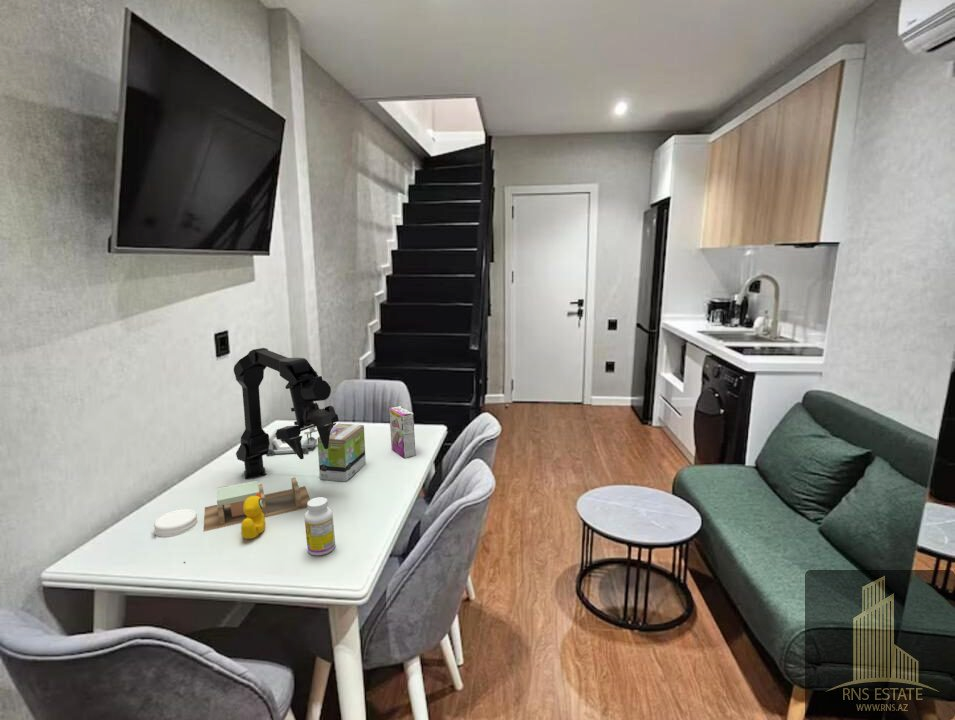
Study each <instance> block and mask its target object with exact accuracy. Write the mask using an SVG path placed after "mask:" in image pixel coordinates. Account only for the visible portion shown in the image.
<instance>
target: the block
mask: <svg viewBox="0 0 955 720" xmlns="http://www.w3.org/2000/svg"><path fill="white" fill-rule="evenodd" d="M244 502H245V501H240V502H235V503H230V505H231V513H232V517H235V516H239V515H244V514H245V513H244V511H243V505H244Z"/></svg>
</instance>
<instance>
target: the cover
mask: <svg viewBox="0 0 955 720" xmlns="http://www.w3.org/2000/svg"><path fill="white" fill-rule="evenodd" d="M258 485H259V482H258V480H253V481H249V482H243V483H239V484H238V483H237V484H233V485H227V486H224V487H223V486H222V487H217V488H216V505H217V506H221V505H226V504H230V503H235V502H240V501H245V500H246V499H247V498H248V497H250V496H256V494H257V493H259V487H258Z"/></svg>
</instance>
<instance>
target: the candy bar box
mask: <svg viewBox="0 0 955 720" xmlns="http://www.w3.org/2000/svg"><path fill="white" fill-rule="evenodd" d="M388 413H389V427H390V444H391V450H392V451H393V452H395V453H397V454H398V455H399V456H401V457H402V458H403V459H408V458H411V457H415V456H416V455H417V454H416V439H415V437H416V436H415V421H414V420H415V419H414V418H415V417H414V412H412V411H410V410H408V409H406V408H404V407H403V406H401V405H398V406H394V407H389V409H388Z"/></svg>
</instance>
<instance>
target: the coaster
mask: <svg viewBox="0 0 955 720" xmlns="http://www.w3.org/2000/svg"><path fill="white" fill-rule="evenodd" d="M198 522H199V520H198V513H197V512H196V511H195V510H193V509H189V508H188V509H187V508H185V509H184V508H183V509H177V510H172V511H169V512H167V513H164V514H162V515H160V516H159V517H158V518H157V519H156V520H155V521H154V522H153V527H154V534H155V536H156V537H158V536H159V537H163V538H164V537H166V538H167V537H174V536H179V535H181V534H184V533H186V532H189V531H190V530H193V529H194V528H195V527H196V526H197V524H198Z"/></svg>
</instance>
